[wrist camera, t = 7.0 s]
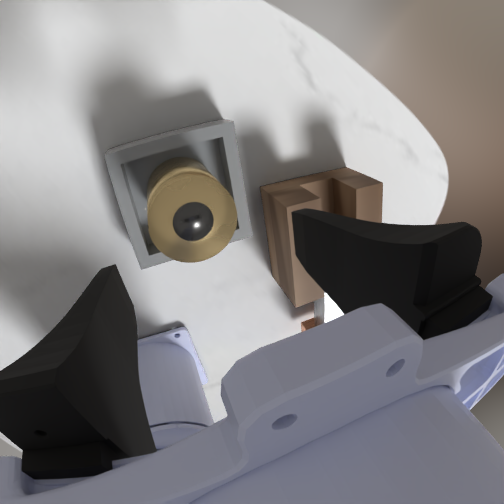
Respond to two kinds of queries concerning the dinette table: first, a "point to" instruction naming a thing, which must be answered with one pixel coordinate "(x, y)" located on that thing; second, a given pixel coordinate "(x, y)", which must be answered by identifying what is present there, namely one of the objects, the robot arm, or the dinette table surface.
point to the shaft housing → (319, 198)
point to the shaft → (322, 313)
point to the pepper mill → (189, 211)
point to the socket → (159, 150)
